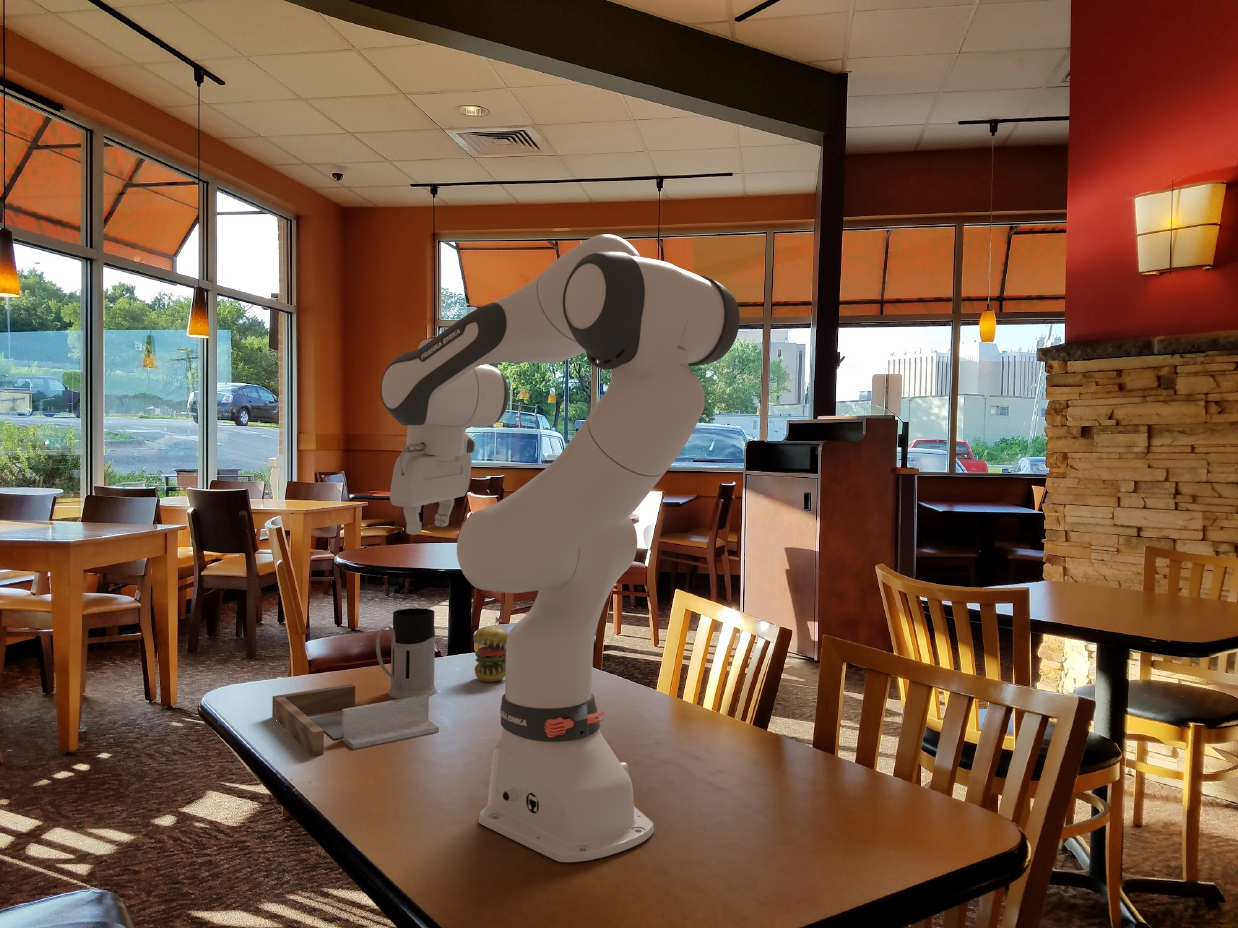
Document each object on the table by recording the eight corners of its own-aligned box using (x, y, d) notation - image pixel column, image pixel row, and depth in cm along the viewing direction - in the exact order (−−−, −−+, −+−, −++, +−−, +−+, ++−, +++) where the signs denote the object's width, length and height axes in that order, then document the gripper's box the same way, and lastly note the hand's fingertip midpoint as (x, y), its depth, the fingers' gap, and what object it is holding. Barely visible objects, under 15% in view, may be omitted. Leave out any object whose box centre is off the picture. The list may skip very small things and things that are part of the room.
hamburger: (467, 682, 162) (468, 621, 162) (479, 673, 169) (480, 614, 169) (505, 685, 161) (506, 623, 161) (515, 675, 168) (517, 616, 168)
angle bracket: (425, 724, 138) (426, 694, 138) (438, 733, 134) (439, 702, 134) (341, 741, 129) (341, 709, 129) (352, 750, 125) (353, 717, 125)
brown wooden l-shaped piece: (400, 738, 131) (401, 715, 130) (313, 755, 122) (313, 732, 122) (351, 703, 148) (352, 683, 148) (272, 716, 139) (272, 696, 139)
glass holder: (446, 689, 157) (447, 610, 157) (395, 709, 145) (397, 623, 144) (409, 683, 161) (410, 605, 161) (356, 702, 148) (358, 618, 148)
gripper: (423, 447, 119) (414, 542, 120) (480, 442, 139) (472, 524, 140) (383, 441, 120) (375, 535, 121) (445, 438, 140) (438, 519, 141)
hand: (427, 529), depth 131 cm, fingers open, 8 cm apart
